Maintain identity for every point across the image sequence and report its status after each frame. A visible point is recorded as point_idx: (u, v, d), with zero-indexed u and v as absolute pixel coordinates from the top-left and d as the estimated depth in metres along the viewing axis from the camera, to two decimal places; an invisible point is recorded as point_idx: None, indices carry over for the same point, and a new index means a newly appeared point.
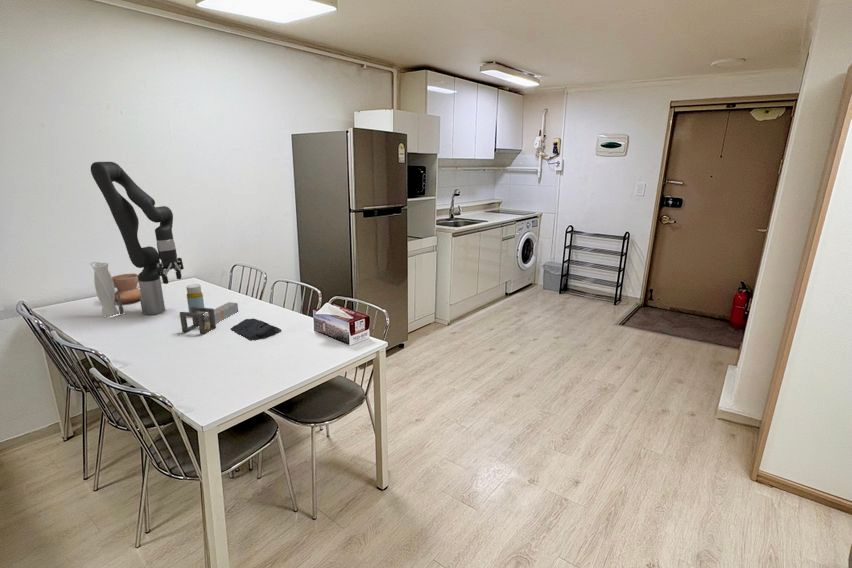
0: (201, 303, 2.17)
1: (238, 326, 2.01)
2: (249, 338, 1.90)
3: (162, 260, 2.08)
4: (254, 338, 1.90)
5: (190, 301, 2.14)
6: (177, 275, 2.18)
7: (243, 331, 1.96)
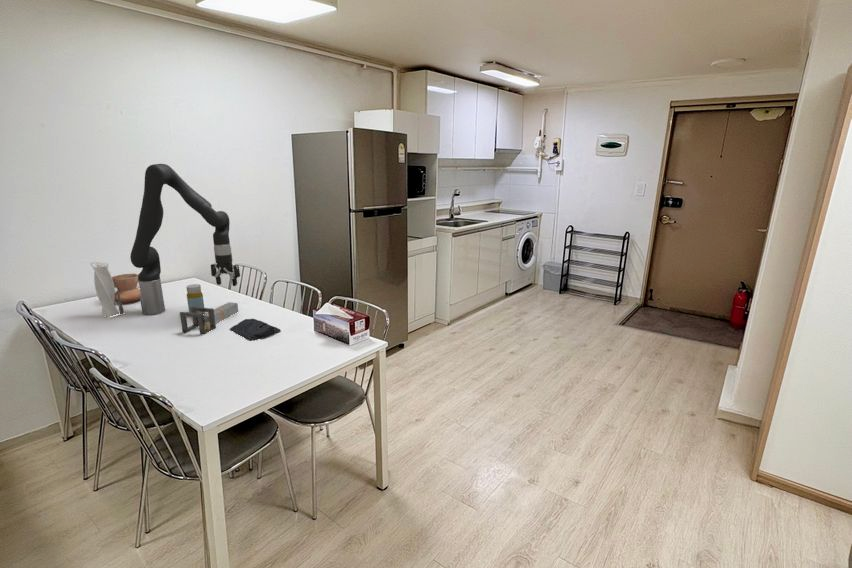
0: (201, 303, 2.17)
1: (237, 326, 2.01)
2: (248, 338, 1.90)
3: (231, 263, 2.13)
4: (253, 338, 1.90)
5: (190, 301, 2.14)
6: (219, 281, 2.17)
7: (242, 331, 1.95)
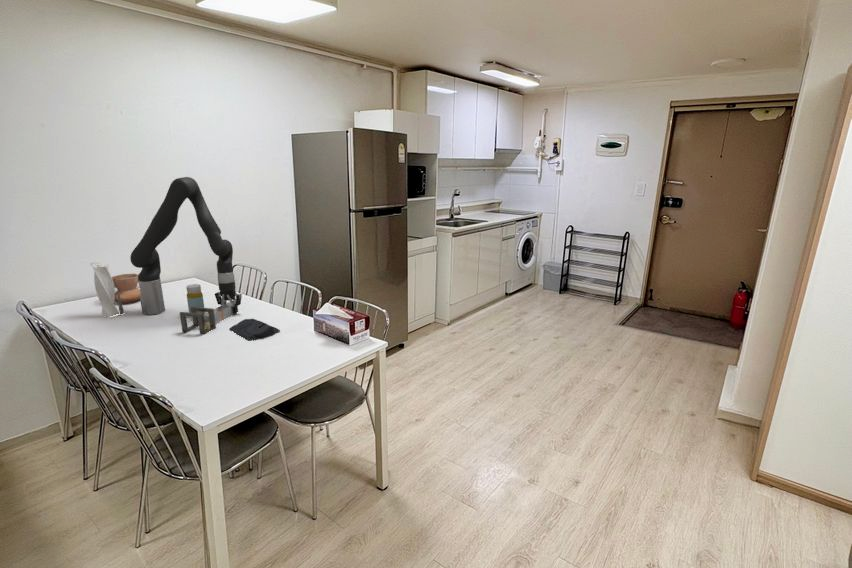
0: (201, 303, 2.17)
1: (237, 326, 2.01)
2: (247, 338, 1.90)
3: (234, 290, 2.17)
4: (252, 338, 1.90)
5: (190, 301, 2.14)
6: None
7: (241, 331, 1.95)
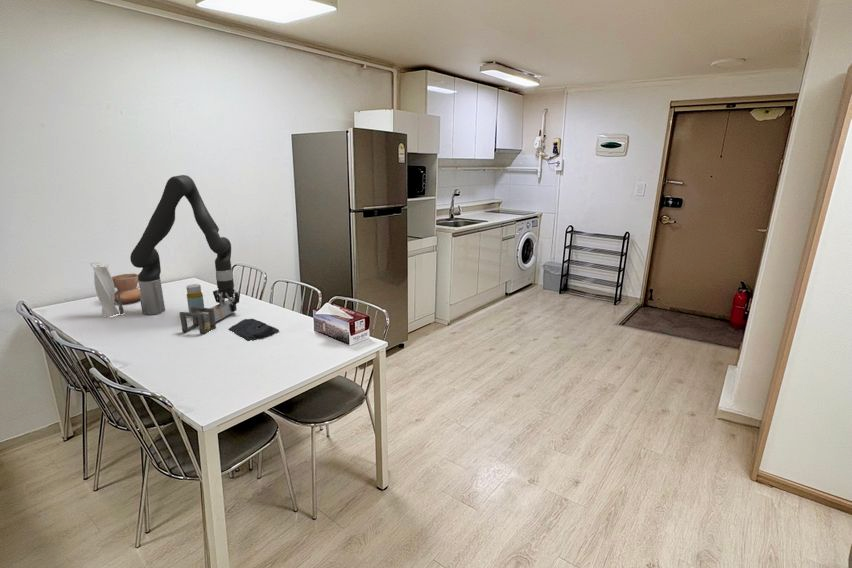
0: (201, 303, 2.17)
1: (236, 326, 2.01)
2: (246, 338, 1.90)
3: (232, 288, 2.16)
4: (251, 338, 1.90)
5: (190, 301, 2.14)
6: None
7: (241, 331, 1.95)
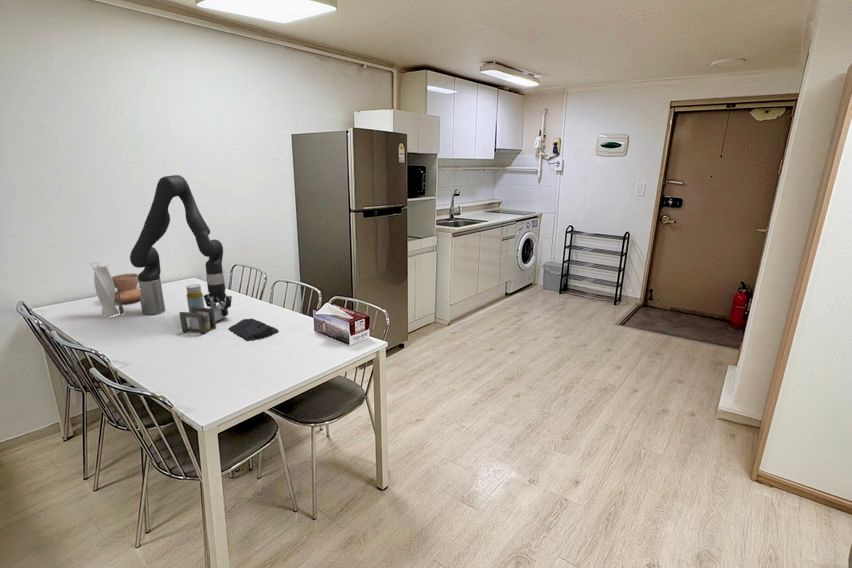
0: (201, 303, 2.17)
1: (236, 326, 2.00)
2: (246, 338, 1.90)
3: (223, 292, 2.09)
4: (251, 338, 1.90)
5: (190, 301, 2.14)
6: None
7: (240, 331, 1.95)
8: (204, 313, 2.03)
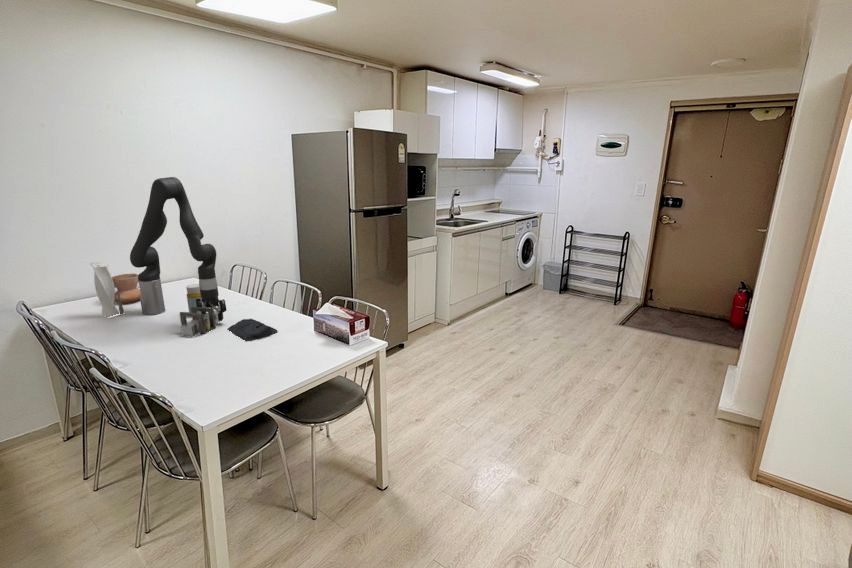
0: None
1: (235, 326, 2.00)
2: (244, 338, 1.90)
3: (216, 297, 2.04)
4: (249, 338, 1.90)
5: (190, 301, 2.14)
6: None
7: (239, 331, 1.95)
8: (196, 320, 1.98)
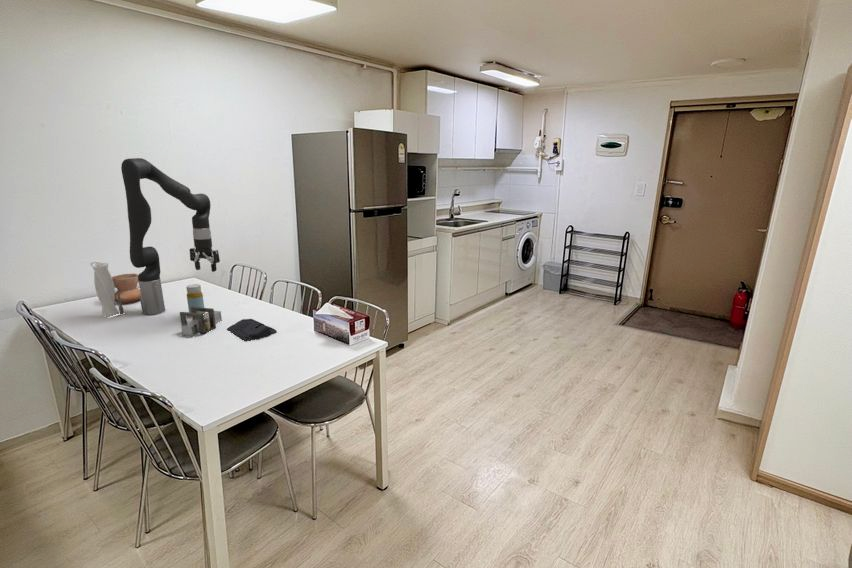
0: (201, 303, 2.17)
1: (234, 326, 2.01)
2: (243, 339, 1.90)
3: (210, 248, 2.06)
4: (248, 339, 1.90)
5: (190, 301, 2.14)
6: (198, 266, 2.10)
7: (238, 331, 1.95)
8: (196, 320, 1.98)
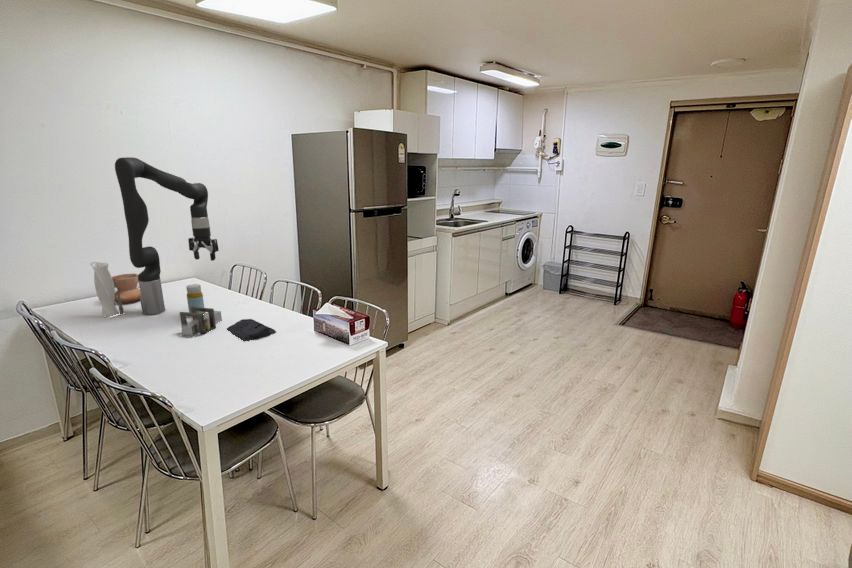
0: (201, 303, 2.17)
1: (234, 326, 2.01)
2: (242, 339, 1.89)
3: (209, 237, 2.08)
4: (247, 339, 1.89)
5: (190, 301, 2.14)
6: (197, 255, 2.12)
7: (237, 331, 1.95)
8: (196, 320, 1.98)
